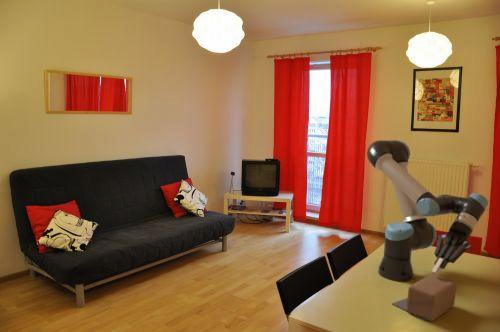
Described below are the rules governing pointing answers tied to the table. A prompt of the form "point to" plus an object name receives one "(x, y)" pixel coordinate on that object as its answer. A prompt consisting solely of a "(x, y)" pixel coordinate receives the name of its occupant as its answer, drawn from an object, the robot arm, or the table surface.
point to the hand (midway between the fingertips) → (434, 273)
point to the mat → (403, 305)
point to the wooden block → (431, 297)
